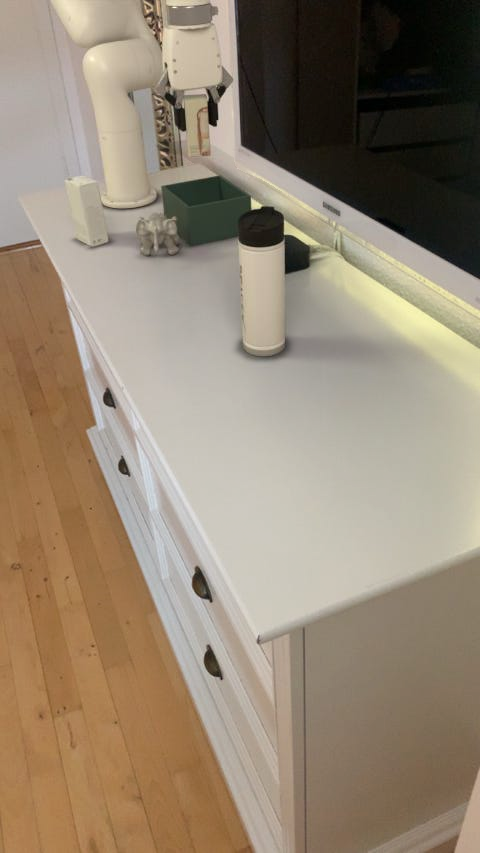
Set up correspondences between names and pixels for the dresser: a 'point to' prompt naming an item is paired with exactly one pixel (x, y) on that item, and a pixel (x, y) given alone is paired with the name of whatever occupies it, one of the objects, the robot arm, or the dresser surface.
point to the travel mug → (262, 280)
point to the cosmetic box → (87, 210)
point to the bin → (205, 208)
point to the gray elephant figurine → (158, 233)
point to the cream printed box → (197, 125)
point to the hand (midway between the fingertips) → (197, 126)
